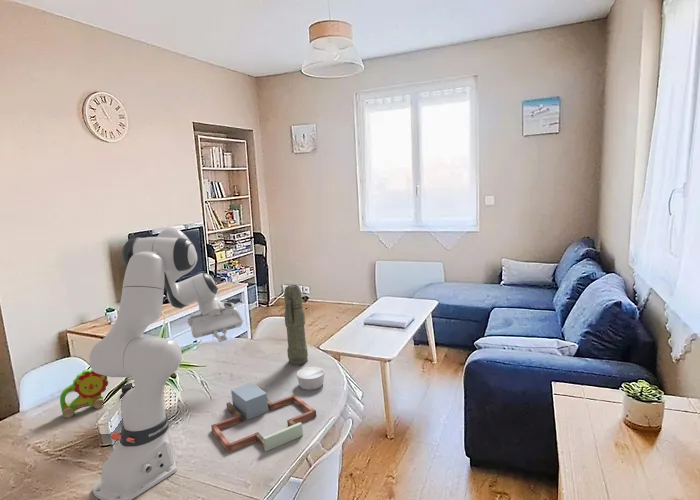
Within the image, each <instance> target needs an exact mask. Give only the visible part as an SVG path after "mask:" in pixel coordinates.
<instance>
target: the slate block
mask: <svg viewBox="0 0 700 500" xmlns="http://www.w3.org/2000/svg"><path fill="white" fill-rule="evenodd" d="M230 391H231V399H232V400H231V401H232V405H233V406H234V407H235V408H236V409H237V410H238V411H239V412H240V414H241V415H242V416H243V418H245V419H246V420H247V421H248V420H251V419H254V418H255V417H258V416H260V415H262V414H265V413H268V412H269V408H268V402H267V399H268V393H267V392H266V391H264V390H263V389H262V388H260V387H258V386H257V385H255V384H254V383H253V382H248V383H246V384H243V385H240V386H238V387H235V388H232V389H231V390H230Z"/></svg>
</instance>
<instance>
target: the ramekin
mask: <svg viewBox="0 0 700 500" xmlns="http://www.w3.org/2000/svg"><path fill="white" fill-rule="evenodd" d="M325 374H326V373H325V370H324V368H322V367H318V366H305V367H302V368H300V369H299V370H298V371H297V372H296V378H297V382H298V385H299V386H298V387H300V388H301V389H303V390H307V391H309V390H310V391H311V390H316V389H319V388H321V386H322V385H323V384H324V380H325Z"/></svg>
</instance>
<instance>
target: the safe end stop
mask: <svg viewBox="0 0 700 500" xmlns="http://www.w3.org/2000/svg"><path fill="white" fill-rule="evenodd" d="M302 436H304V430H303V422H299V423H297V424H294V425H292V426H290V427H289V426H287V427H286V428H283V429H280V430H277V431H276V432H273V433H271V434H268V435H265V436H262V437H263V441H264V449H263V450H264V451H265V452H268V451H270V450H272V449H274V448H277V447H279V446H281V445H283V444H286V443H288V442H291V441H293V440H295V439H298V438H300V437H302Z"/></svg>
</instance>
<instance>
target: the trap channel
mask: <svg viewBox="0 0 700 500" xmlns="http://www.w3.org/2000/svg"><path fill="white" fill-rule="evenodd" d="M267 402H268V410H270V411H273V410H276V409H278V408H281V407H285V406H286V405H289V404H292V403H295V404H296V405H297V406H298V407H299V408H301V409H302V411H304V413H302V414H299V415H296V416H294V417H291V418H289V419H287V421H286V423H287V427H290V426H292V425H294V424H297V423H299V422H301V423H303V422H306V421H308V420H310V419H312V418H315V417H317V410H316V409H314V408H313V407H311V406H310V405H309V404H308V403H306V402H305V401H304V400H303V399H301V398H300V397H298V396H297V395H296V394H292V395H290V396H287V397H285V398H281V399H278V400H277V401H274V402H272V401H270V399H268V398H267ZM225 405H226V408H227V410H228V411H229V412H230V413H231V414H232V416H233V417H230V418H228V419H225V420H222V421H219V422H217V423H214V424H211V432H212V434H213V435H214V436H215V437H216V439H217V440H218V441H219V442H220V444H221V445H222V447H223V448H224V449H225V450H226V452H227V453H228V454H229V453H231V452H234V451H236V450H238V449H240V448H243V447H246V446H248V445H250V444H252V443H255V442H257V443H258V445H260V447H261V448H262V449H263V450H264V441H263V437H264V436H262V435H261V434H260V432H258V431H257V432H255V433H252V434H250V435H247V436H245V437H242V438H240V439H238V440H235V441H233V442H229V440H228V438H227V437H225V435H224V434H223V433H222V431H221V430H223V429H226V428H228V427H231V426H233V425H236V424H239V423H242V422H243V421H244V416H243V415H242V414H240V412H239V411H238V410H237V409H236V408H235V407H234V406H233V403H231V402H230V401H228V402H226V404H225Z"/></svg>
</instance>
